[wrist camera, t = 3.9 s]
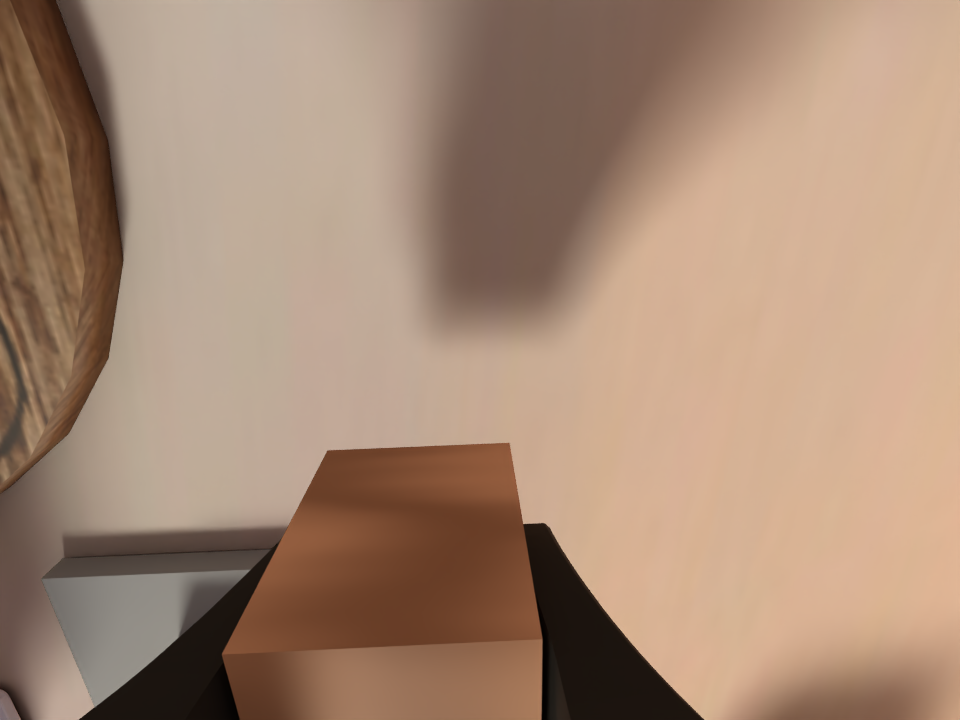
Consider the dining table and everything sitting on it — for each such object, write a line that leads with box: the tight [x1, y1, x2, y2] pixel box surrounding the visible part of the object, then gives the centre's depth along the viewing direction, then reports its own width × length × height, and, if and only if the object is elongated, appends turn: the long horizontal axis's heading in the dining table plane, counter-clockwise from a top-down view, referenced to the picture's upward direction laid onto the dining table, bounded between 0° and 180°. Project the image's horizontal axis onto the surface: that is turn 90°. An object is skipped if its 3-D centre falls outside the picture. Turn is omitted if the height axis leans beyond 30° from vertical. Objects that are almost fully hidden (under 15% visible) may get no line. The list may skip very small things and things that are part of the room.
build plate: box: [41, 549, 271, 707], centre depth 20 cm, size 16×12×1 cm
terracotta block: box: [222, 443, 543, 720], centre depth 9 cm, size 4×4×5 cm
